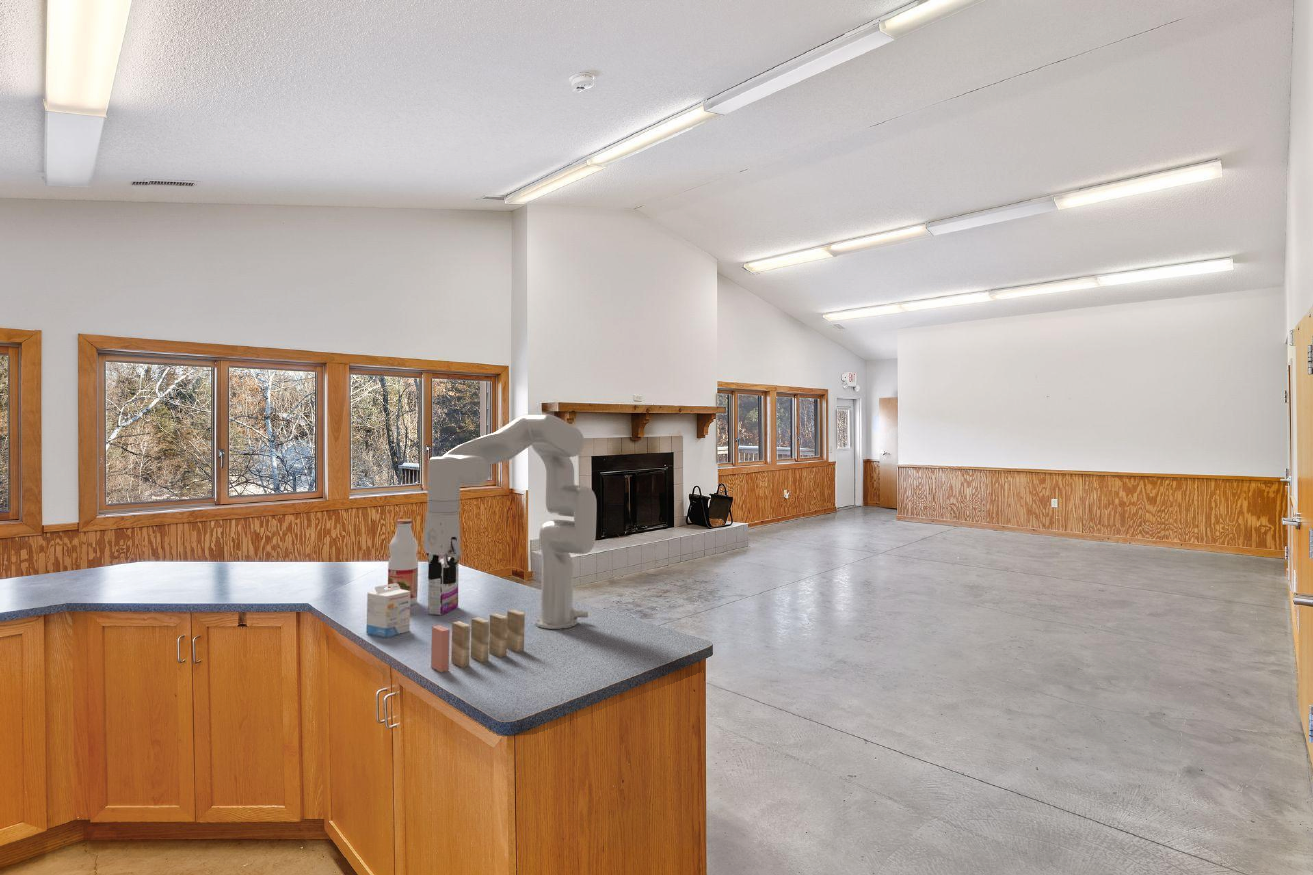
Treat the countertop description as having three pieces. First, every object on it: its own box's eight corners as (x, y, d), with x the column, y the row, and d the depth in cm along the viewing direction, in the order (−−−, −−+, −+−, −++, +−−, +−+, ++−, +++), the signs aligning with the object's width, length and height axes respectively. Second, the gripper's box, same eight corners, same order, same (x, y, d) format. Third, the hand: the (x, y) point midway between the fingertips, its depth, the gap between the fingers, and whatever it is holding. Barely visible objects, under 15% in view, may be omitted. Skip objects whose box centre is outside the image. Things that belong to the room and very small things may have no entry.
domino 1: (438, 665, 166) (439, 625, 166) (448, 670, 163) (449, 629, 163) (431, 667, 165) (431, 626, 165) (441, 672, 162) (442, 631, 161)
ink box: (385, 638, 187) (386, 590, 187) (365, 633, 191) (366, 586, 191) (410, 630, 195) (411, 584, 195) (390, 626, 199) (391, 580, 199)
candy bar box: (444, 605, 223) (445, 556, 223) (458, 607, 222) (459, 557, 222) (426, 614, 212) (427, 562, 212) (441, 615, 211) (442, 563, 211)
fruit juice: (423, 602, 227) (425, 519, 227) (401, 608, 219) (403, 522, 219) (403, 598, 231) (405, 517, 231) (380, 604, 223) (382, 520, 223)
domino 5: (512, 646, 183) (513, 609, 182) (523, 650, 179) (524, 613, 179) (506, 648, 181) (507, 610, 181) (517, 652, 178) (518, 614, 178)
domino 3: (477, 655, 174) (478, 617, 174) (488, 660, 171) (489, 621, 171) (470, 657, 173) (471, 618, 173) (481, 662, 170) (482, 622, 170)
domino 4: (495, 650, 178) (496, 613, 178) (506, 655, 175) (507, 617, 175) (489, 652, 177) (489, 614, 177) (500, 657, 174) (500, 618, 174)
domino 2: (458, 660, 170) (459, 621, 170) (469, 665, 167) (470, 625, 167) (451, 662, 169) (452, 622, 169) (461, 667, 166) (462, 626, 166)
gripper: (411, 505, 167) (410, 577, 167) (448, 511, 155) (446, 589, 155) (439, 503, 172) (437, 573, 172) (476, 509, 161) (474, 584, 161)
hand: (441, 580), depth 164 cm, fingers open, 6 cm apart
